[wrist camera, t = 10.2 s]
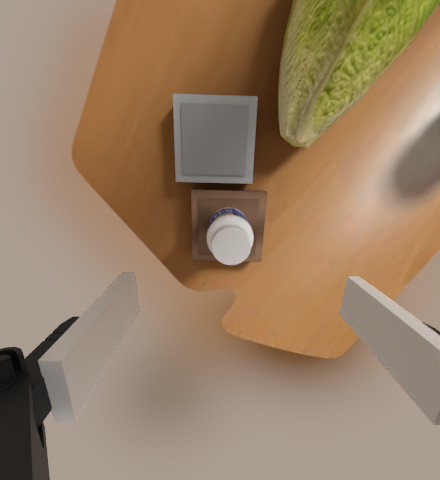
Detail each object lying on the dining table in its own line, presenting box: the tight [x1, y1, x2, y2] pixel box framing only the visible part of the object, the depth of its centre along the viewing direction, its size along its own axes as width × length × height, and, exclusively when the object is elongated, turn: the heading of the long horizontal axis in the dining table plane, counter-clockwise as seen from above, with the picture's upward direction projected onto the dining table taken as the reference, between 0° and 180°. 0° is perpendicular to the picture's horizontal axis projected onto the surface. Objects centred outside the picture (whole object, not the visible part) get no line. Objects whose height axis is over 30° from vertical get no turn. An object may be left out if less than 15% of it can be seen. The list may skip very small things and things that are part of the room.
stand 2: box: [191, 189, 267, 262], centre depth 32 cm, size 10×10×3 cm
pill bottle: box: [207, 207, 254, 265], centre depth 26 cm, size 5×5×9 cm
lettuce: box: [278, 0, 440, 148], centre depth 23 cm, size 12×24×13 cm
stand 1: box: [173, 94, 258, 184], centre depth 29 cm, size 10×10×3 cm
